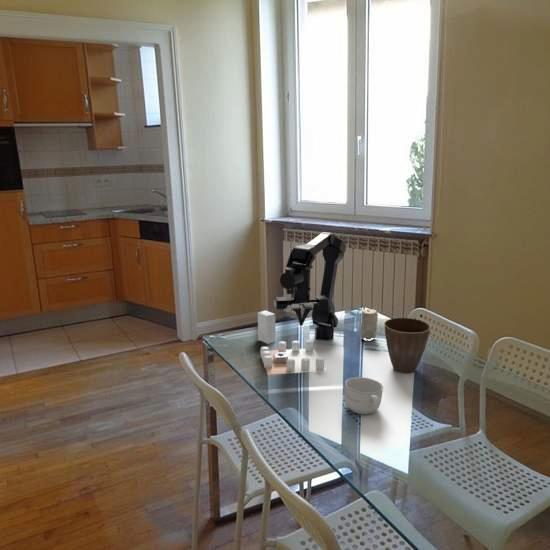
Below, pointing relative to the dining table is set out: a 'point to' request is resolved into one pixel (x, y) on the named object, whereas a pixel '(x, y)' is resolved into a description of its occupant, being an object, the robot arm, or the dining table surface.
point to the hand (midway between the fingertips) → (300, 325)
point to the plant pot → (406, 342)
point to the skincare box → (266, 327)
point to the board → (303, 355)
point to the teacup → (363, 394)
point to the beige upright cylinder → (368, 324)
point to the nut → (280, 358)
